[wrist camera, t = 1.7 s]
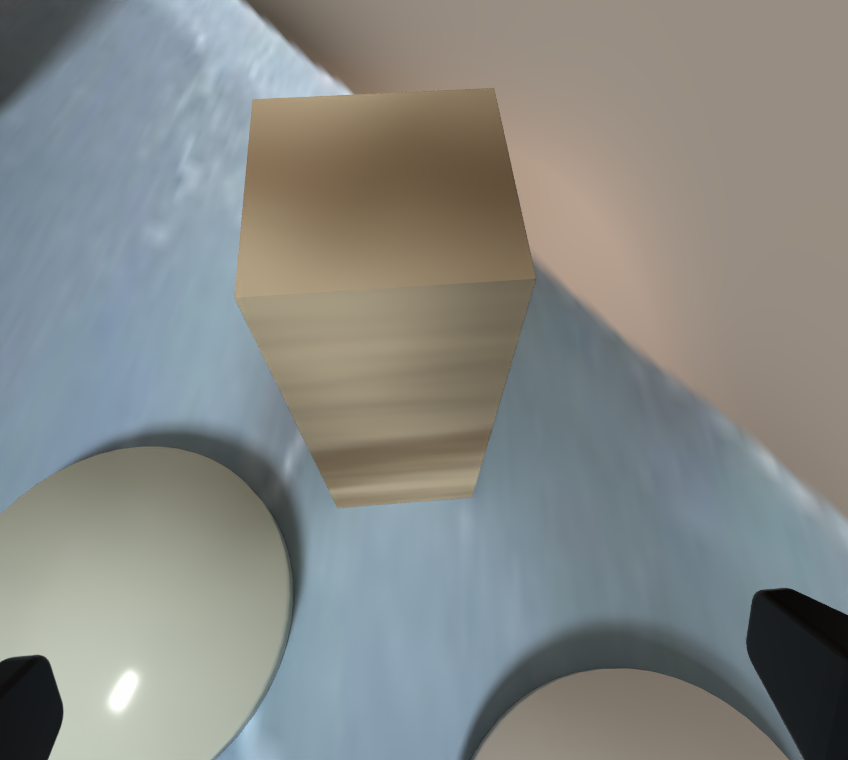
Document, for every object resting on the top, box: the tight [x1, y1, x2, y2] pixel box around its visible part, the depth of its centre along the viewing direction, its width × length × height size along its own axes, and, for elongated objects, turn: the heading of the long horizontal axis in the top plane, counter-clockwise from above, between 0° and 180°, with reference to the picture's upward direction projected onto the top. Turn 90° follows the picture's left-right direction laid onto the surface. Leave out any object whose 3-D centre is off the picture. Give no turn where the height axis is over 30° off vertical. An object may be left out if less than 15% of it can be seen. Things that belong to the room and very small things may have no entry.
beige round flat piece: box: [0, 446, 294, 760], centre depth 18 cm, size 11×11×1 cm
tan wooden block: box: [234, 88, 536, 508], centre depth 16 cm, size 5×5×13 cm
